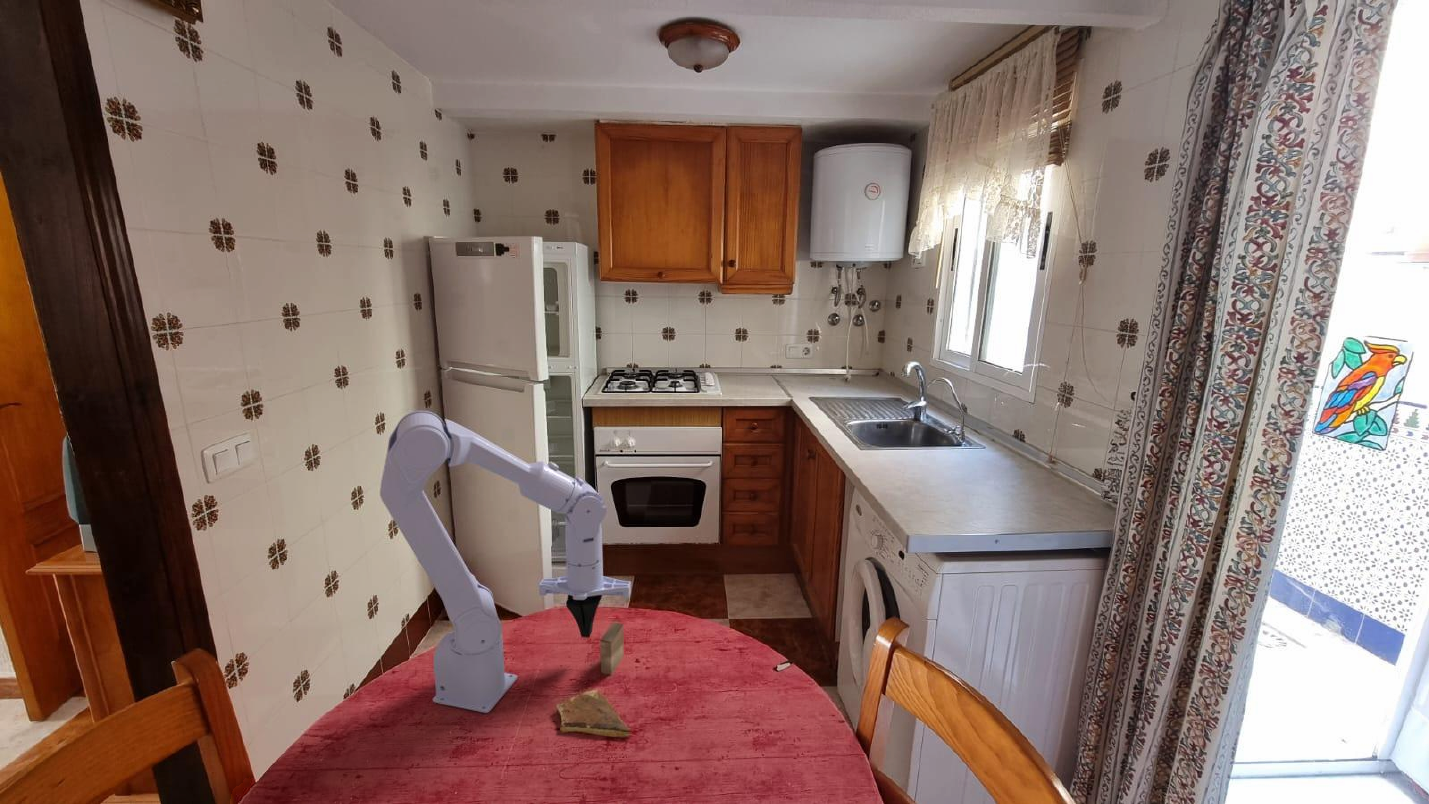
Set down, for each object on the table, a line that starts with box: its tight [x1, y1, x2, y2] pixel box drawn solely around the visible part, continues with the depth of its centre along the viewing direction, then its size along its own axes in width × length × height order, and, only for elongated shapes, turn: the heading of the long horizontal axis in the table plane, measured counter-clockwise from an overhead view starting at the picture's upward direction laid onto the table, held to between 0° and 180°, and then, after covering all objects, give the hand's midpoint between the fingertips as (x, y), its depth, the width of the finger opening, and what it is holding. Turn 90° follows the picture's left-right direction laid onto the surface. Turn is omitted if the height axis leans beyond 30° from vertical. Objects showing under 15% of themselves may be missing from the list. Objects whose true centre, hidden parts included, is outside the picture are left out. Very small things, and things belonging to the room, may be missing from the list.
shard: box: [555, 689, 632, 738], centre depth 81 cm, size 11×8×2 cm
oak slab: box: [600, 621, 624, 675], centre depth 94 cm, size 2×5×6 cm, turn 167°
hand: (586, 633), depth 94 cm, fingers closed
